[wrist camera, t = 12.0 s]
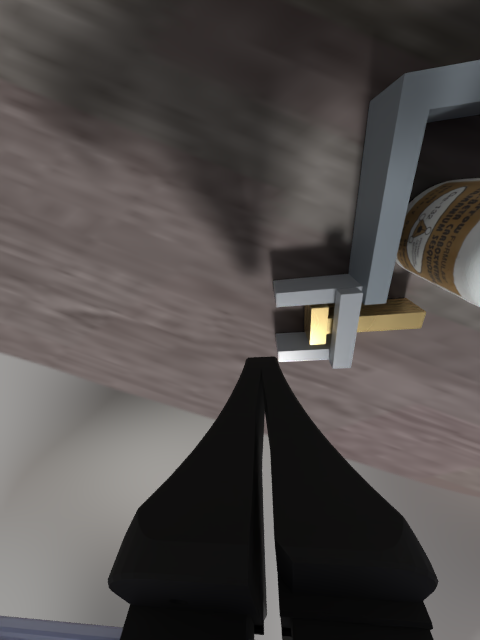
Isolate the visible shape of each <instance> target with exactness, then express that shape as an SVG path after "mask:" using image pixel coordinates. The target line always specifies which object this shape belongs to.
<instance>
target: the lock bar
mask: <svg viewBox="0 0 480 640" xmlns="http://www.w3.org/2000/svg"><path fill="white" fill-rule="evenodd" d="M334 308H335V304H326V303H325V304H312V305H305V314H304V330H305V333H306V336H307V338H308V341H309V344H310V345H317V344H326V334H332V327H333V318H334ZM425 314H426V312H425V311H424V310H423V309H421V308H420V307H418V306H417V305H415V304H414V303H412V302H411V301H410V300H408V299H407V298H401V299H388V300H387V301H386V303H385V304H372V305H364V304H363V303H361V309H360V315H359V321H358V328H357V332H368V331H384V330H400V329H416V328H421V327H422V323H423V320H424V317H425Z"/></svg>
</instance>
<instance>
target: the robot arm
mask: <svg viewBox="0 0 480 640" xmlns="http://www.w3.org/2000/svg"><path fill="white" fill-rule="evenodd" d="M264 414H265V415H266V423H267V430H268V437H269V444H270V453H271V474H272V493H273V494H272V495H273V517H274V539H275V550H276V561H277V572H278V588H279V589H278V590H279V608H280V617H281V627H282V639H283V640H433V637H432V635H431V632H430V630H431V629H433V626H432V622H431V620H430V617H429V615H428V612H427V610H426V607H425V605H424V603H423V600H424V599H426V598H427V597H428V596H429V595H430V594H431V593H432V592H434V590H435V589H436V587H437V584H438V579H437V577H436V574H435V572H434V570H433V568H432V565H431V563H430V561H429V559H428V557H427V555H426V553H425V552H424V550H423V548H422V546H421V545H420V543H419V541H418V540H417V538H416V536H415V534H414V533H413V531H412V529H411V528H410V526H409V525H408V523H407V521H406V520H405V519H404V517H403V516H402V515H401V514H400V513H399V512H398V511H397V510H396V509H395V508H394V507H392V506H391V505H390V504H389V503H388V502H387V501H386V500H385V499H384V498H383V497H382V496H381V495H380V494H379V493H378V492H377V491H375V490H374V489H373V488H372V487H371V486H370V485H369V484H368V483H367V482H366V481H365V480H364V479H363V478H362V477H361V476H360V475H359V474H358V473H357V472H356V471H355V470H354V469H353V468H352V467H351V465H350V464H349V463H348V462H347V461H346V460H345V459H344V458H343V457H342V456H341V454H340V453H339V452H338V451H337V450H336V449H335V448H334V447H333V446H332V445H331V443H330V442H329V441H328V440H327V439H326V438H325V436H324V435H323V434H322V433H321V431H320V430H319V429H318V428H317V426H316V425H315V424H314V423H313V421H312V420H311V419H310V417H309V416H308V415H307V413H306V412H305V410H304V409H303V407H302V406H301V404H300V403H299V401H298V400H297V398H296V397H295V395H294V393H293V392H292V390H291V388H290V387H289V385H288V383H287V381H286V379H285V377H284V375H283V373H282V371H281V369H280V367H279V364H278V361H277V358H276V357H254V358H247V359H246V362H245V365H244V368H243V371H242V373H241V375H240V378H239V380H238V382H237V384H236V386H235V388H234V390H233V392H232V394H231V396H230V398H229V399H228V401H227V403H226V405H225V406H224V408H223V410H222V411H221V413H220V414H219V416H218V418H217V419H216V421H215V422H214V423H213V425H212V426H211V428H210V429H209V431H208V432H207V433H206V435H205V436H204V437H203V439H202V440H201V441H200V442H199V444H198V445H197V446H196V448H195V449H194V450H193V451H192V453H191V454H190V455H189V456H188V457H187V458H186V459H185V460H184V461H183V463H182V464H181V465H180V466H179V467H178V468H177V469H176V471H175V472H174V473H173V474H172V475H171V476H170V477H169V478H168V479H167V480H166V481H165V482H164V483H163V484H162V485H161V486H160V487H159V488H158V489H157V490H156V491H155V492H154V493H153V494H152V495H151V496H150V497H149V498H148V499H147V500H146V501H145V502H144V503H143V504H142V505H141V506H140V507H139V508H138V510H137V512H136V514H135V516H134V518H133V520H132V522H131V524H130V526H129V528H128V530H127V532H126V535H125V537H124V539H123V542H122V544H121V547H120V549H119V552H118V555H117V557H116V560H115V562H114V565H113V568H112V570H111V573H110V575H109V578H108V585H109V588H110V589H111V590H112V591H113V592H114V593H115V594H117V595H118V596H119V597H121V598H122V599H124V600H125V601H126V602H128V603H129V604H130V607H129V611H128V614H127V617H126V621H125V624H124V627H113V626H101V625H92V624H81V623H71V622H59V621H50V620H39V619H28V618H18V617H7V616H0V640H254V634H259V635H264V619H265V618H266V616H267V604H266V578H265V549H264V522H263V487H262V452H263V434H264Z"/></svg>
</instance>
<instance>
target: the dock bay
mask: <svg viewBox="0 0 480 640" xmlns="http://www.w3.org/2000/svg"><path fill="white" fill-rule="evenodd" d="M474 115H480V60H476V61H470V62H465V63H459V64H453V65H448V66H442V67H437V68H431V69H426V70H420V71H414V72H409V73H405V74H403V75H402V76H401V77H400V78H398V79H397V80H396V81H395V82H393V83H392V84H391V85H390V86H388V87H387V88H386V89H385V90H384V91H382V92H381V93H380V94H379V95H377V96H376V97H375V98H374V99H372V100H371V101H370V104H369V112H368V120H367V128H366V136H365V144H364V152H363V160H362V168H361V176H360V184H359V192H358V200H357V208H356V216H355V224H354V232H353V240H352V248H351V256H350V264H349V272H348V274H340V275H329V276H318V277H307V278H295V279H284V280H273V286H274V297H275V302H276V307H286V306H299V305H312V304H325V303H335V308H334V318H333V327H332V334H326V344H317V345H310V344H309V341H308V338H307V336H306V333H305V332H294V333H278V334H276V346H277V354H278V361H279V362H289V361H309V360H329V361H330V364H331V366H332V368H333V369H334V368H351V364H352V358H353V352H354V346H355V340H356V334H357V328H358V321H359V315H360V309H361V303H363V304H364V305H372V304H385V303H386V301H387V297H388V292H389V288H390V283H391V279H392V274H393V270H394V265H395V261H396V257H397V252H398V248H399V243H400V239H401V234H402V230H403V225H404V221H405V216H406V212H407V208H408V203H409V199H410V194H411V190H412V185H413V181H414V176H415V172H416V168H417V163H418V159H419V154H420V150H421V145H422V141H423V136H424V132H425V127H426V123H429V122H436V121H442V120H448V119H455V118H461V117H468V116H474Z"/></svg>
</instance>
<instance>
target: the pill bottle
mask: <svg viewBox="0 0 480 640" xmlns="http://www.w3.org/2000/svg"><path fill="white" fill-rule="evenodd" d="M396 262H397V263H398V265H400V266H401V267H402V268H404V269H405V270H407V271H409V272H411V273H413V274H415V275H417V276H419V277H421V278H423V279H425V280H427V281H429V282H431V283H433V284H434V285H436V286H438V287H440V288H442V289H444V290H446V291H448V292H450V293H452V294H454V295H456V296H458V297H460V298H462V299H464V300H466V301H468V302H470V303H472V304H474V305H476V306H478V307H480V178H470V179H458V180H450V181H446V182H443V183H440V184H437V185H435V186H432V187H430V188H428V189H427V190H425V191H424V192H422V193H421V194H419V195H418V196H417V197H415V198H414V199H413V200H412V201H411V202H410V203H409V204H408V208H407V212H406V216H405V221H404V225H403V230H402V234H401V239H400V243H399V248H398V252H397V257H396Z"/></svg>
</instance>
